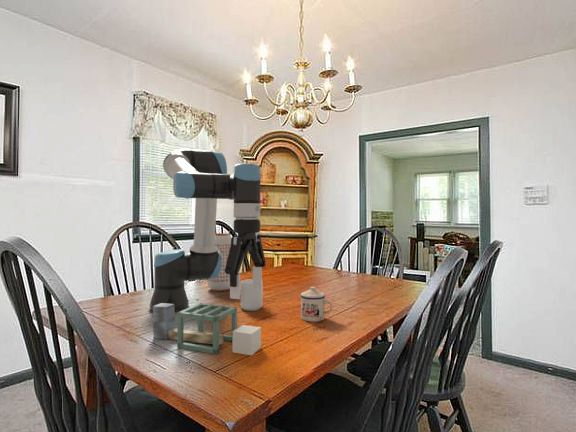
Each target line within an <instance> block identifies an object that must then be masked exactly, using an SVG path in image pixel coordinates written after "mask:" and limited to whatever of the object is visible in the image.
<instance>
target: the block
mask: <svg viewBox="0 0 576 432" xmlns="http://www.w3.org/2000/svg"><path fill="white" fill-rule="evenodd" d="M231 342H232V347H231V348H232V353H235V354H242V355H247V356H252V355H254V354H256V353H257V352H258V351H259V350H260V349H261V347H262V327H259V326H252V325H244V324H242V325H240V326H239V327H237V329H235V330H234V331H233V336H232V341H231Z"/></svg>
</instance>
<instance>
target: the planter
mask: <svg viewBox="0 0 576 432" xmlns="http://www.w3.org/2000/svg"><path fill="white" fill-rule="evenodd" d="M231 238H232V236H231V235H230V233H227V232H226V233H225V232H223V233H221V232H219V233H216V232H215V246H216V247H217V248H218V251H219V252H220V253H221V255H222V267H221V271H220V273H219V275H218V276H217V277H216V278H212V279H208V280H206V282H207V283H206V284H207V285H208V287H209V288H210V289H211V291H212V292H226V291H230V274H226V273H225V267H226V263H227V259H228V255H229V251H230V247H231Z"/></svg>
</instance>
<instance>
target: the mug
mask: <svg viewBox="0 0 576 432" xmlns="http://www.w3.org/2000/svg"><path fill="white" fill-rule="evenodd" d="M263 283H264V282H263V280H262V289H255V288H253V278H249V279H247V278H246V279H243V280H240V307H241V309H242V310H244V311H247V312H248V311H249V312H250V311H251V312H252V311H254V312H255V311H260V309H261V308H262V307H263V291H264V289H263Z"/></svg>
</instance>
